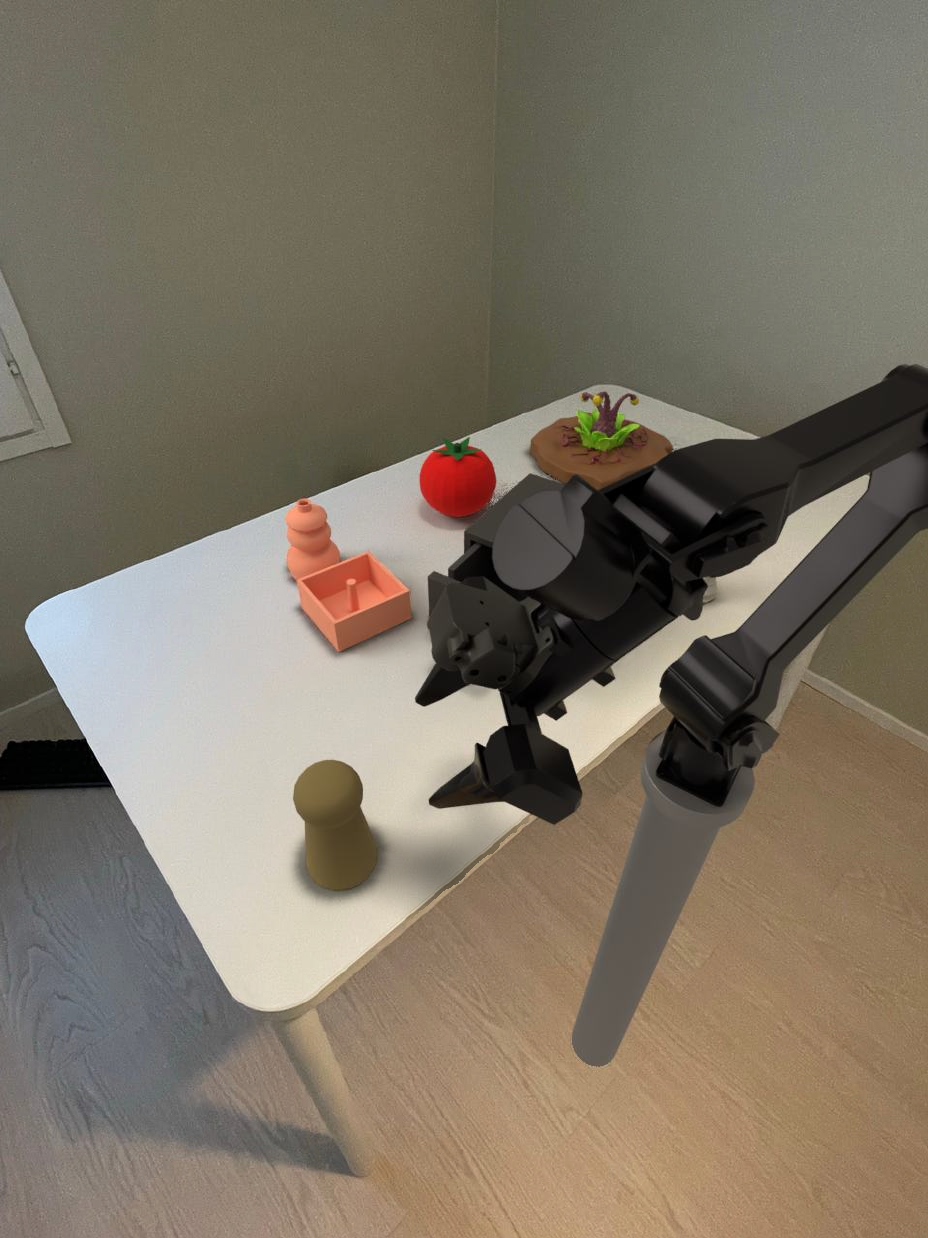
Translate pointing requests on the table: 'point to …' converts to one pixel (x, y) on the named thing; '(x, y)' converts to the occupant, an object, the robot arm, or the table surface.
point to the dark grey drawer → (468, 574)
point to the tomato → (457, 479)
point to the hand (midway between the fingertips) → (425, 750)
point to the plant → (598, 444)
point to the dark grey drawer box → (505, 509)
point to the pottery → (341, 582)
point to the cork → (334, 825)
